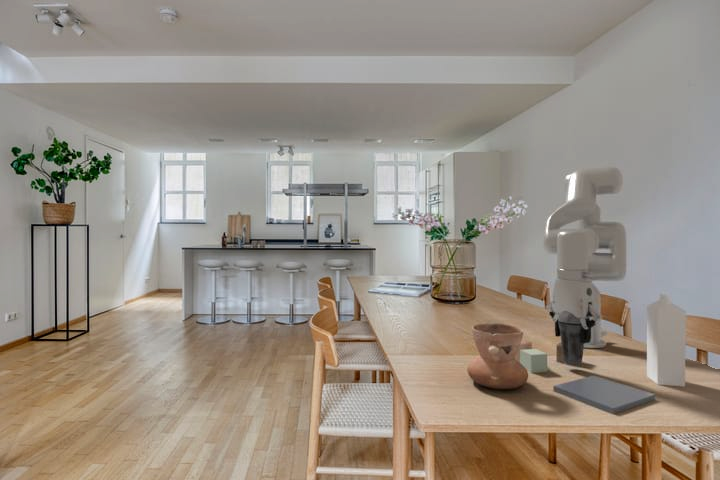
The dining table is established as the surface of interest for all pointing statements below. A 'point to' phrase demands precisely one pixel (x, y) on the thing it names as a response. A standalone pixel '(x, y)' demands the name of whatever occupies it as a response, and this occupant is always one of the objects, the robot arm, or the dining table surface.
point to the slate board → (604, 394)
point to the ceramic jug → (497, 356)
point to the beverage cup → (571, 338)
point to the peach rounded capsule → (523, 348)
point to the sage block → (533, 360)
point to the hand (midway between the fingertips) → (572, 338)
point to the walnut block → (559, 354)
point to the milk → (666, 342)
